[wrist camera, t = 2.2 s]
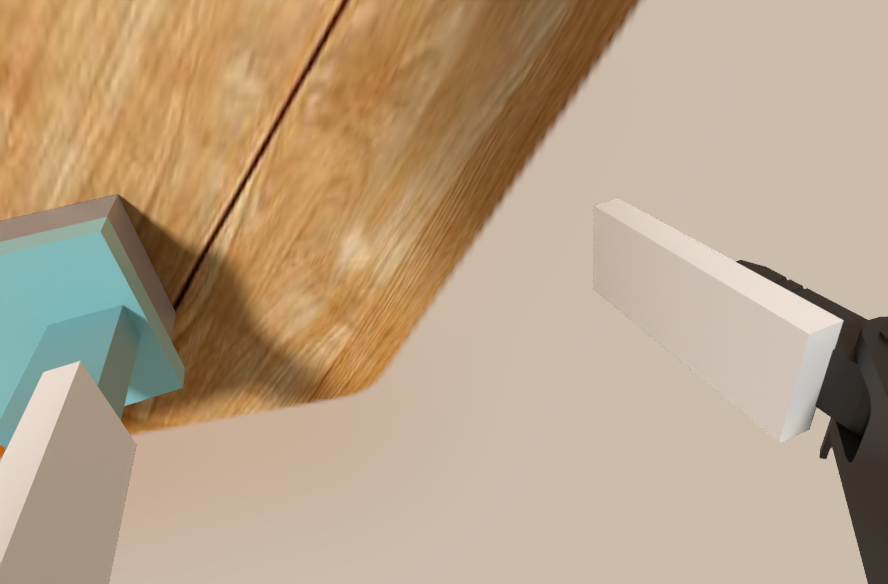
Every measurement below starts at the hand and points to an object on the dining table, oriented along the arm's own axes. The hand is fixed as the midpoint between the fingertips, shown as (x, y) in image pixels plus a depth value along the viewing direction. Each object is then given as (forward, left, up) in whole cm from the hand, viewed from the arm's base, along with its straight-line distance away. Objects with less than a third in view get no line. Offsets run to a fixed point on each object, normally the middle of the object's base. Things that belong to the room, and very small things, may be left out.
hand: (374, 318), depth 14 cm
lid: (-12, -17, -22) cm, 31 cm away
